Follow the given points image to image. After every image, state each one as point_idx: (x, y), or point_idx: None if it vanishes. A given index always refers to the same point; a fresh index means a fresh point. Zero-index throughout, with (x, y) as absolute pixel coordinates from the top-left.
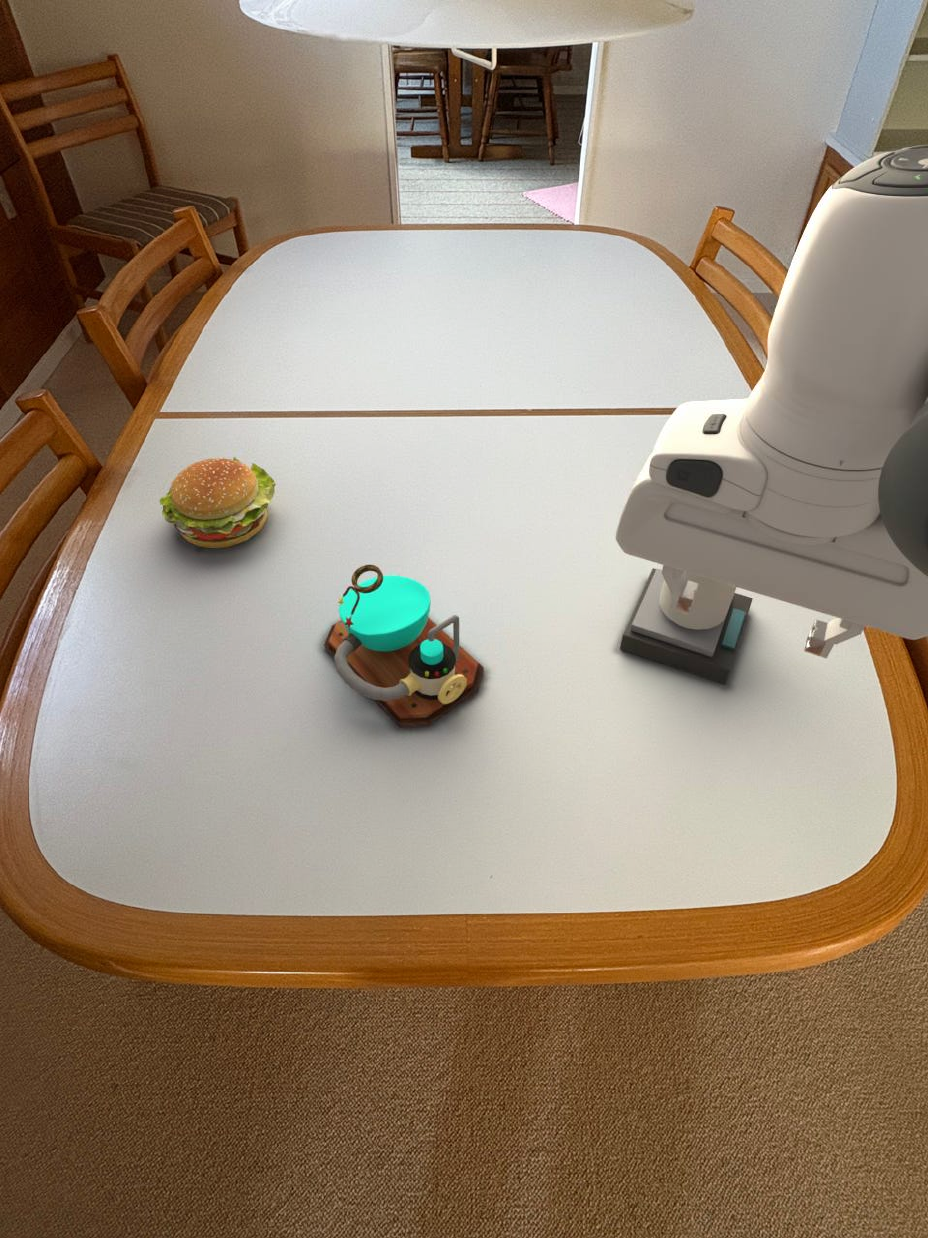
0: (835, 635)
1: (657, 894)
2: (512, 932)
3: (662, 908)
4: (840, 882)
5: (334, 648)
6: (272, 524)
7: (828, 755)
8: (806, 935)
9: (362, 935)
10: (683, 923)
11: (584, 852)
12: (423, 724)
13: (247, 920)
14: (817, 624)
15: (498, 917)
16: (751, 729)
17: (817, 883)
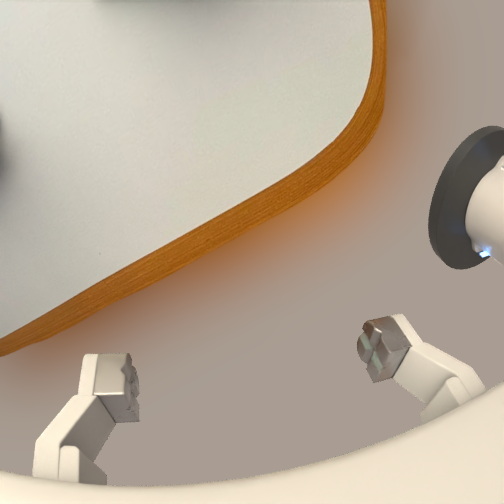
0: (410, 392)
1: (209, 208)
2: (132, 275)
3: (216, 215)
4: (335, 139)
5: None
6: None
7: (320, 24)
8: (314, 187)
9: (66, 312)
10: (233, 218)
11: (146, 205)
12: None
13: (23, 329)
14: (390, 358)
15: (120, 272)
16: (249, 18)
17: (320, 146)
